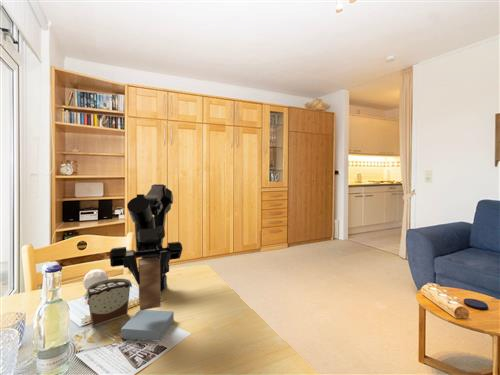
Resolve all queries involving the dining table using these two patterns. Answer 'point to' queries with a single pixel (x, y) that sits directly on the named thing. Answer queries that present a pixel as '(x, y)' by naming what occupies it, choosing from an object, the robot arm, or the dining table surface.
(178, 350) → the dining table surface
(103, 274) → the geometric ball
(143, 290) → the walnut block
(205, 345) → the dining table surface
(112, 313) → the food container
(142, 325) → the slate-blue block
